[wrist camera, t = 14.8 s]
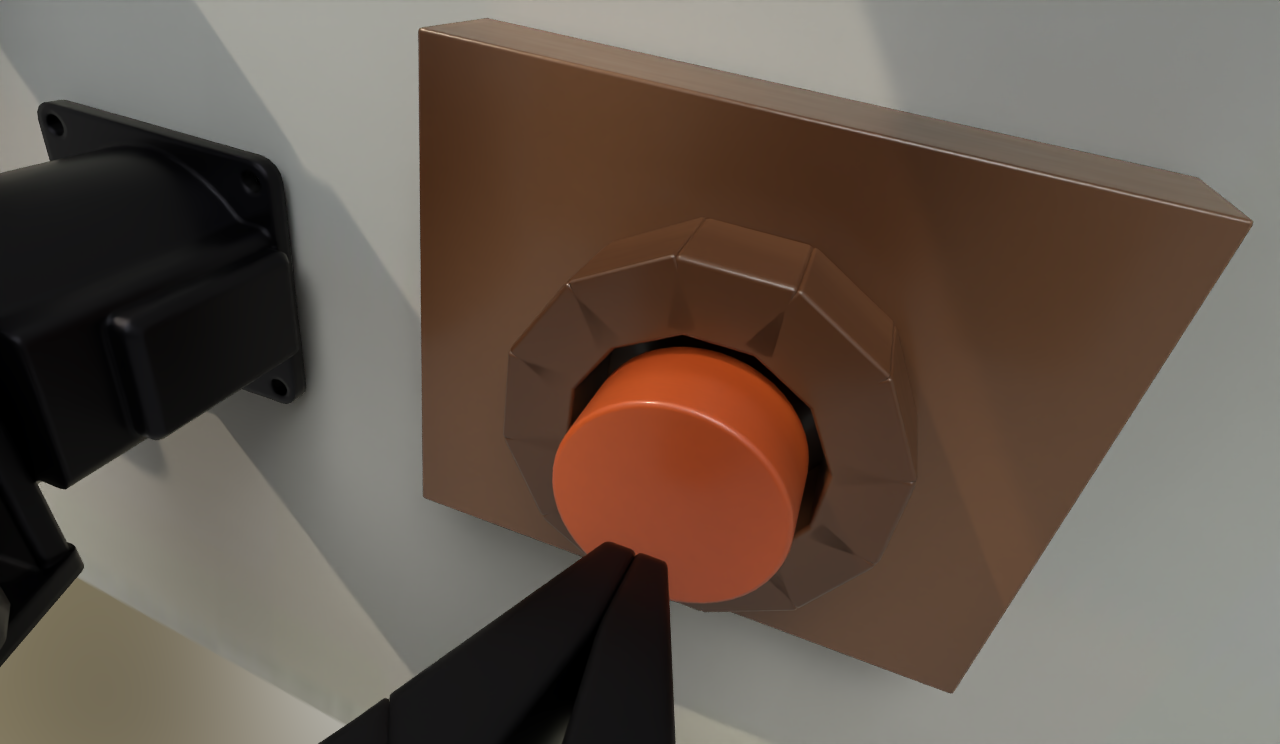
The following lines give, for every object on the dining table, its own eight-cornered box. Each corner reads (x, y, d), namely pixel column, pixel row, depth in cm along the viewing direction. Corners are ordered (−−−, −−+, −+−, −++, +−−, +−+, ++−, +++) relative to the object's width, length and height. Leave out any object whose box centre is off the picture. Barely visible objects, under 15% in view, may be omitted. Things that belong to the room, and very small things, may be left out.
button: (582, 490, 13) (540, 556, 12) (607, 316, 11) (562, 369, 10) (776, 559, 12) (758, 638, 11) (839, 385, 10) (827, 454, 9)
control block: (470, 445, 19) (373, 550, 15) (485, 17, 13) (341, 37, 10) (949, 613, 16) (956, 780, 13) (1201, 177, 11) (1323, 273, 8)
